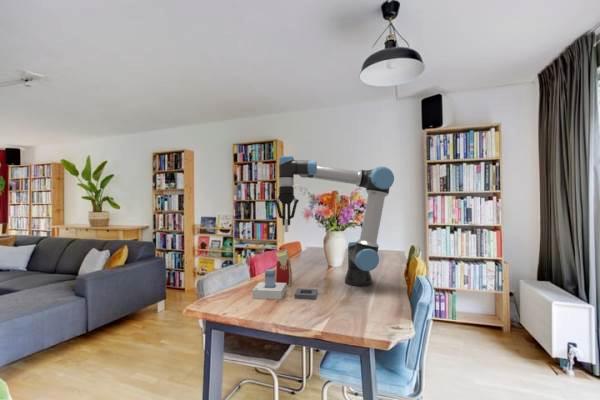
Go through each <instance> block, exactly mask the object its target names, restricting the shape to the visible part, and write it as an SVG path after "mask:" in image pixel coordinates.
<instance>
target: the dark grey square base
mask: <svg viewBox="0 0 600 400" xmlns="http://www.w3.org/2000/svg"><path fill="white" fill-rule="evenodd" d="M317 294H318V288H302V287H301V288H298V287H297V288H296V290H295V293H294V299H296V300H314V301H315V300H317V296H318V295H317Z"/></svg>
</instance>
